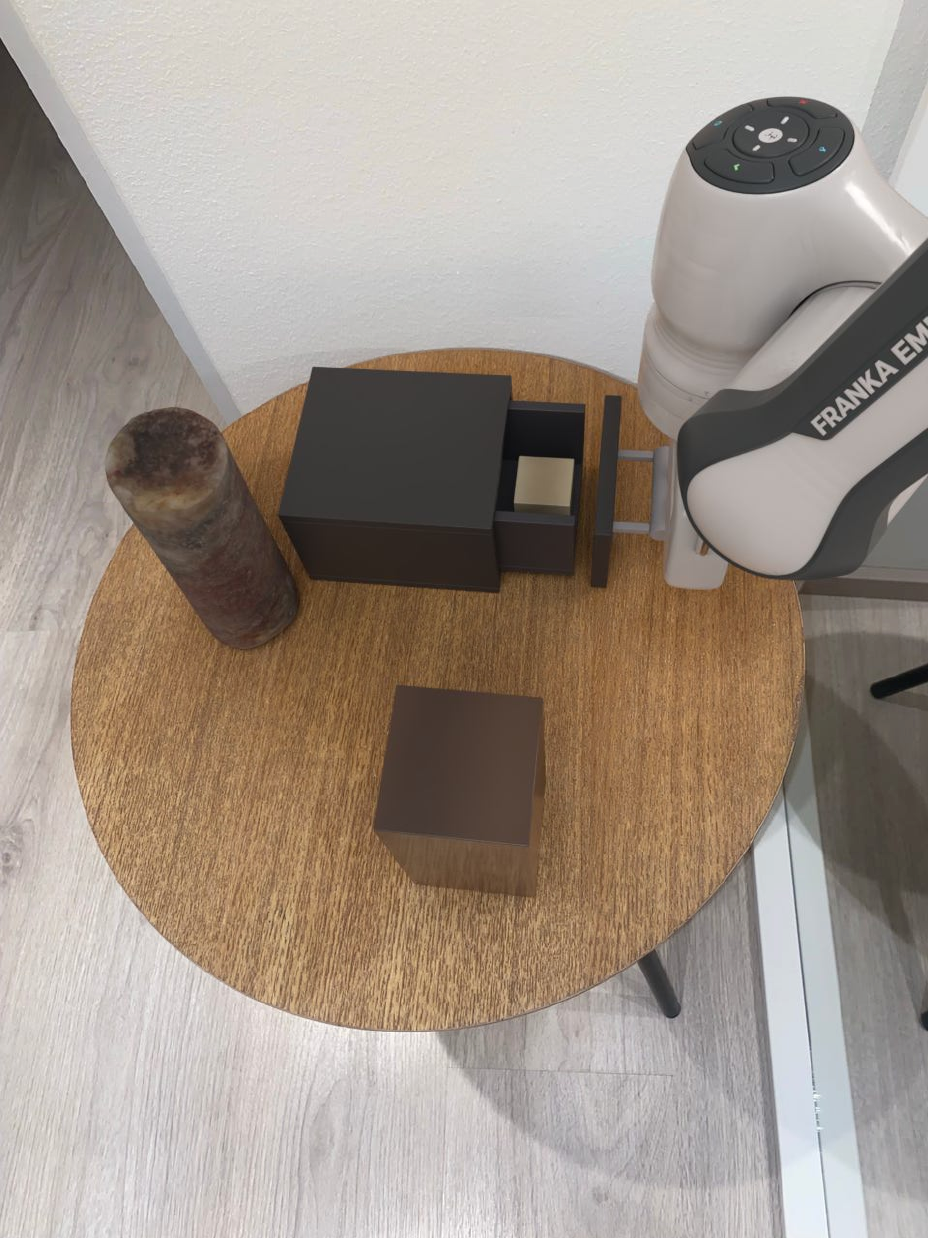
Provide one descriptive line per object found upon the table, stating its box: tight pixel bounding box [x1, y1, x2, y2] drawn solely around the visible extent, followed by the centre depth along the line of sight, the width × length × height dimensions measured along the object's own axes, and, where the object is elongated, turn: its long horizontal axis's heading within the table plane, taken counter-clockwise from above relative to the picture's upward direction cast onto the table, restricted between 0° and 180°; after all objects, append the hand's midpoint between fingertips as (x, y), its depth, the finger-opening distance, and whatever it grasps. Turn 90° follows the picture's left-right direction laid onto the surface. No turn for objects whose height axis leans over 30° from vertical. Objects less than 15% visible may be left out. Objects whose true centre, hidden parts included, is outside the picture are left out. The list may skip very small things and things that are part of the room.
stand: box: [372, 684, 547, 899], centre depth 58 cm, size 8×8×16 cm
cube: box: [514, 456, 574, 515], centre depth 71 cm, size 4×4×4 cm
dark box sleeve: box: [277, 366, 514, 594], centre depth 72 cm, size 15×13×10 cm
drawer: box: [494, 394, 669, 589], centre depth 70 cm, size 18×11×8 cm, turn 83°
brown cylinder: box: [104, 406, 299, 650], centre depth 65 cm, size 8×7×20 cm
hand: (686, 497), depth 69 cm, fingers closed, pressing on drawer
